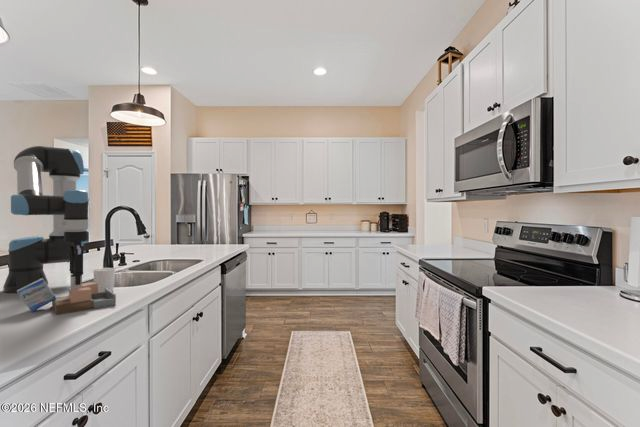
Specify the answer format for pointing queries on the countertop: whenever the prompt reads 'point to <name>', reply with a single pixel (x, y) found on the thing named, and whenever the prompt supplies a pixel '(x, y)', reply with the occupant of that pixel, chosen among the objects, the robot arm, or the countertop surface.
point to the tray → (103, 299)
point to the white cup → (104, 278)
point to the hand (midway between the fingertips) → (76, 291)
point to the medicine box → (36, 294)
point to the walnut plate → (70, 305)
